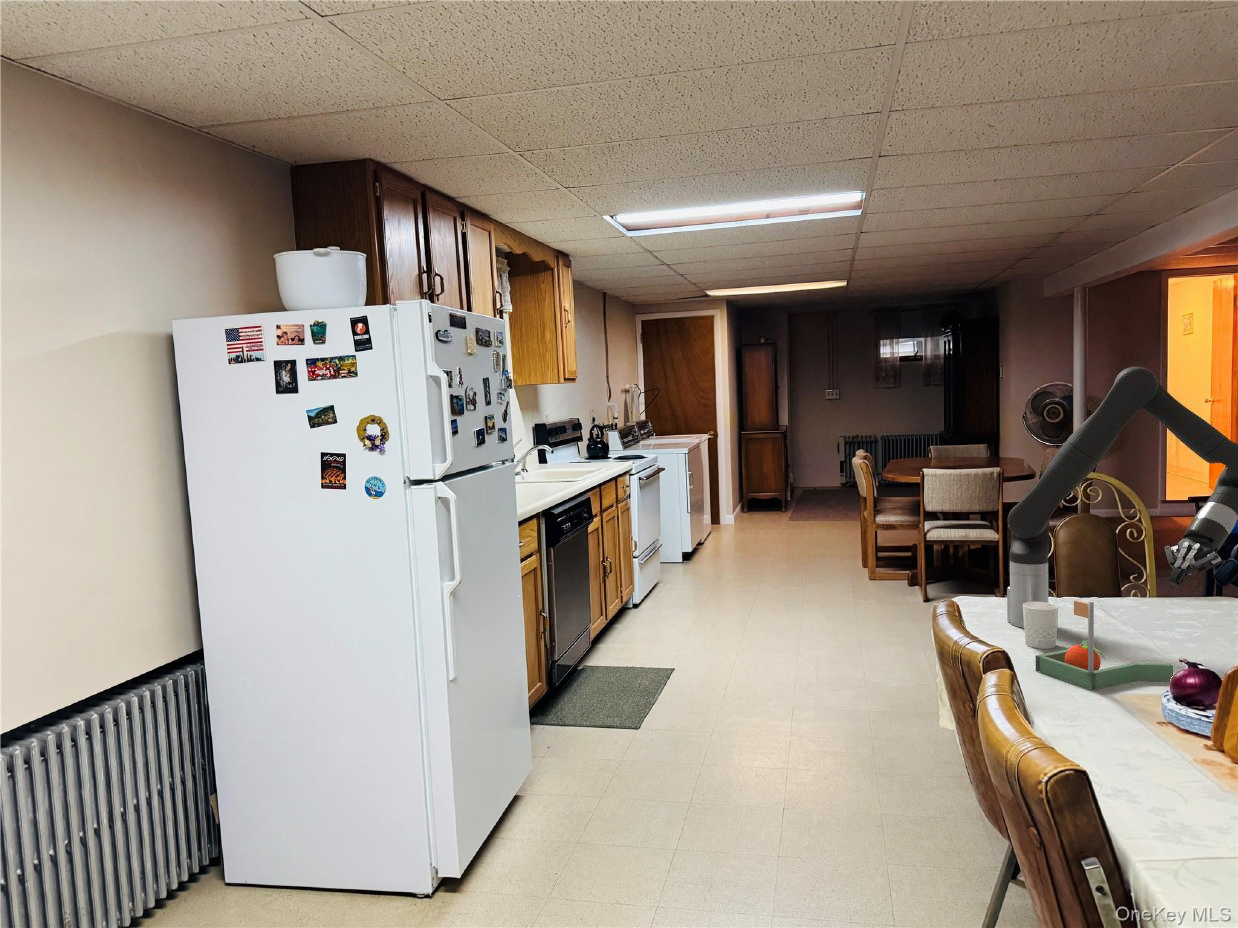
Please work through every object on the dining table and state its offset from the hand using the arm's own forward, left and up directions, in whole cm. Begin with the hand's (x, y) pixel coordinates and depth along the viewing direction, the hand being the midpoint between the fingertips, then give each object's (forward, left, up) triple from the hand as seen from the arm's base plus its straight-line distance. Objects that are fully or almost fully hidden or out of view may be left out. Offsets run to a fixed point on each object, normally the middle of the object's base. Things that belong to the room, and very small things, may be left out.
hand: (1173, 583), depth 193 cm
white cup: (-21, -18, -18) cm, 33 cm away
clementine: (+1, -28, -18) cm, 33 cm away
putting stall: (0, -24, -17) cm, 30 cm away
